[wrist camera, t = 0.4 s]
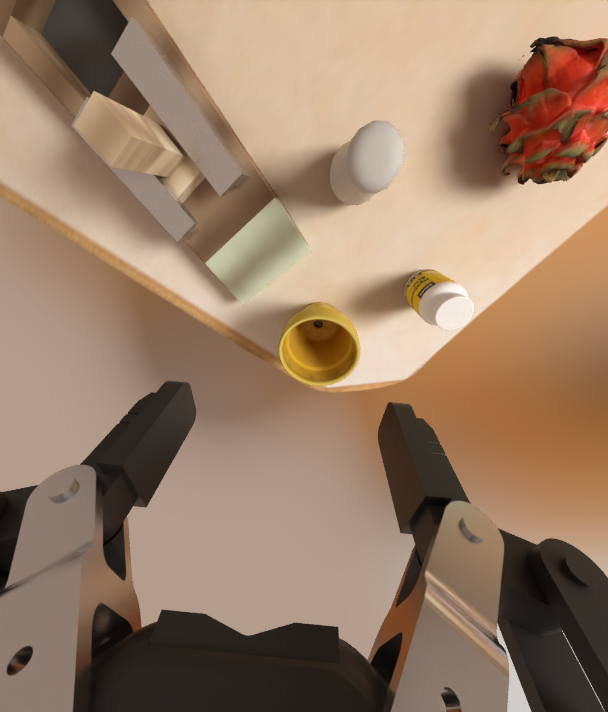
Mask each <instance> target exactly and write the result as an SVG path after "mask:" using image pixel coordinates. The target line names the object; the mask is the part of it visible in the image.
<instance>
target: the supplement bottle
mask: <svg viewBox="0 0 608 712" xmlns="http://www.w3.org/2000/svg"><path fill="white" fill-rule="evenodd" d="M404 295H405V298H406V300H407V302H408V303H409V304H410V305H411V306H412V307H413V309H414V310H415V311H416V312H417V313H418V314H419V315H420V317H421V318H422V319H423V320H424V321H425V322H427V323H429V324H432V325H437V326H438V327H440V328H442V329H445V330H453V329H457V328H459V327H461V326H463V325H464V324H466V323H467V322H468V321H469V319H470V318H471V316H472V314H473V311H474V306H473V303H472V302H471V300H470V299H468V295H467V292H466V290H465V289H464V288H463V287H462V286H461V285H460V284H458V283H456V282H454V281H453V280H451V279H449V278H447V277H446V276H444V275H443V274H441V273H439V272H437V271H435V270H431V269H426V270H421V271H419V272H417V273H415V274H414V275H413V276H411V278H410V279H409V280H408V281H407V283H406V286H405V289H404Z"/></svg>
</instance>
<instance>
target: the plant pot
mask: <svg viewBox="0 0 608 712" xmlns="http://www.w3.org/2000/svg"><path fill="white" fill-rule="evenodd" d="M315 321H321V322H322V326H321V327H316V326H315V324H314V322H315ZM279 357H280V361H281V363H282V365H283V367H284V368H285V370H286V371H287V372H288V373H289V374H290V375H291V376H292V377H294V378H295V379H297V380H298V381H301V382H303V383H306V384H309V385H316V386H324V385H330V384H334V383H337V382H339V381H341V380H343V379H345V378H346V377H347V376H348V375H350V374H351V373H352V371H353V370H354V369H355V367H356V366H357V364H358V361H359V357H360V344H359V339H358V336H357V333H356V330H355V328H354V326H353V324H352V323H351V321H350V320H349V319H348V318H347V317H346V316H345V315H343V314H342V313H340V312H338V311H337V310H336V309H335V308H334V307H333V306H331V305H329V304H326V303H313V304H311V305H309V306H307V307H306V308H305V309H304V310H302V311H300V312H298V313H297V314H295V315H294V316H293V317H292V318H291V319H290V320H289V321H288V323H287V324H286V326H285V328H284V330H283V332H282V335H281V338H280V342H279Z"/></svg>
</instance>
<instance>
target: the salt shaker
mask: <svg viewBox="0 0 608 712" xmlns="http://www.w3.org/2000/svg"><path fill="white" fill-rule="evenodd" d="M403 160H404V142H403V140H402V137H401V134H400V132H399V130H398V129H397V128H396V127H395V126H393V125H392V124H391V123H389V122H388V121H372V122H371V123H369V124H367V125H365V126H364V127H362V128H360V129H359V130H358V132H357V133H356V134H355V135H354V137H353V138H352V139H351V141H349V142H347V143H346V144H344V145H342V147H341V148H340V149H339V150H338V152H337V153H336V154H335V156H334V157H333V160H332V164H331V168H330V172H329V173H330V186H331V188H332V190H333V192H334V194H335V195H336V197H337V198H338V199H339V200H340V201H342V202H343V203H345V204H346V205H359V204H362V203H364V202H366V201H368V200H370V198H371V197H372V196H373V195H374V194H375V193H378V192H380V191H382V190H384V189H386V188H387V187H388V186H389V185H390V184H391V183H392V181H393V180H394V179H395V178H396V177H397V175H398V173H399V170H400V168H401V165H402V163H403Z"/></svg>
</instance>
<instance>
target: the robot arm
mask: <svg viewBox="0 0 608 712" xmlns="http://www.w3.org/2000/svg"><path fill="white" fill-rule="evenodd" d="M195 417H196V408H195V404H194V400H193V395H192V391H191V387H190V384H189V383H187V382H177V381H167V382H165V383H164V384H163V385H162V386H161V388H160V389H159V390H158V391H157V392H156V393H150V394H149V395H147V396H145V397H144V398H142V399H141V400H139V401H138V402H137V403H136V404H135V405H134V406H133V407H132V408H131V410H130V411H129V412H128V414H126V415H125V416H124V417H123V418H122V419H121V421H120V423H119V424H117V425H116V426H115V427H114V428H113V429H112V430H111V432H110V433H109V434H108V435H107V436H106V437H105V438H104V439H103V440H102V441H101V443H100V444H99V445H98V446H97V447H96V448H95V449H94V450H93V451H92V453H91V454H90V455H89V456H88V457H87V458H86V459H85V460H84V461H83V462H82V463H81V464H80V465H75V466H71V467H68V468H65V469H63V470H60V471H58V472H56V473H54V474H53V475H51V476H50V477H48V478H47V479H45V480H44V481H43V482H42V483H41V484H39V485H37V486H31V487H26V488H21V489H16V490H11V491H6V492H0V712H507V702H508V686H509V663H508V658H507V654H506V651H505V649H504V648H503V647H502V645H500V644H499V642H498V639H497V632H496V630H497V623H498V625H499V628H500V631H501V633H502V636H503V638H504V641H505V643H506V646H507V649H508V651H509V653H510V657H511V659H512V662H513V664H514V667H515V669H516V672H517V675H518V677H519V680H520V683H521V685H522V688H523V690H524V693H525V696H526V698H527V701H528V703H529V706H530V709H531V711H532V712H604V710H605V712H608V578H607V576H606V575H605V574H604V573H603V571H602V570H601V569H600V568H599V567H598V566H597V565H596V564H595V563H594V562H593V561H592V560H591V559H590V558H589V557H588V556H586V555H585V554H584V553H582V552H581V551H580V550H578V549H577V548H575V547H574V546H572V545H570V544H568V543H566V542H564V541H561V540H558V539H551V538H550V539H546V540H544V541H542V542H541V543H540V544H538V545H536V544H534V543H531V542H529V541H527V540H524V539H522V538H519V537H517V536H515V535H512V534H509V533H507V532H505V531H503V530H501V529H499V528H497V527H496V525H495V524H494V523H493V521H492V520H491V519H490V518H489V517H488V516H487V515H486V514H485V513H484V512H483V511H481V510H480V509H479V508H477V507H476V506H474V505H472V504H471V503H470V502H469V500H468V498H467V496H466V494H465V492H464V490H463V488H462V487H461V484H460V482H459V480H458V478H457V476H456V474H455V472H454V470H453V468H452V466H451V464H450V462H449V460H448V458H447V456H445V452H444V450H443V448H442V446H441V445H440V442H439V440H438V438H437V436H436V434H435V432H434V430H433V429H432V428H431V427H430V426H429V425H428V424H427V423H426V422H425V421H424V420H423V419H420V418H416V416H415V414H414V411H413V409H412V407H411V406H410V405H409V404H403V403H393V402H389V403H388V405H387V407H386V410H385V413H384V415H383V418H382V421H381V423H380V426H379V430H378V442H379V447H380V451H381V455H382V459H383V463H384V467H385V471H386V476H387V479H388V484H389V488H390V492H391V496H392V500H393V504H394V508H395V512H396V516H397V520H398V524H399V528H400V533H406V534H413V538H414V542H415V546H414V548H413V550H412V553H411V556H410V558H409V561H408V564H407V566H406V569H405V572H404V574H403V577H402V579H401V582H400V585H399V587H398V591H397V593H396V595H395V598H394V601H393V603H392V606H391V608H390V610H389V612H388V614H387V616H386V618H385V619H384V621H383V623H382V625H381V628H380V630H379V632H378V634H377V637H376V639H375V642H374V645H373V647H372V650H371V652H370V655H369V657H368V660H366V658H365V657H364V656H362V655H361V654H360V653H359V652H358V651H357V650H356V649H355V648H354V647H352V646H351V645H350V644H348V643H347V642H345V641H344V640H342V639H340V638H339V635H338V634H339V633H338V627H333V626H322V625H313V624H302V623H293V624H289V625H285V626H282V627H278V628H275V629H272V630H268V631H265V632H261V633H258V634H255V635H250V636H246V635H243V634H241V633H239V632H237V631H235V630H233V629H232V628H230V627H228V626H226V625H224V624H223V623H220V622H218V621H217V620H215V619H213V618H212V617H210V616H208V615H206V614H201V613H200V614H199V613H189V612H180V611H170V610H162V611H161V613H160V616H159V619H158V621H157V622H154V623H152V624H149V625H147V626H145V627H141V615H140V608H139V603H138V598H137V595H136V593H135V590H134V587H133V581H132V571H131V557H130V542H129V528H128V519H127V515H128V513H129V512H130V510H131V508H132V507H133V506H139V507H147V505H148V504H149V502H150V500H151V498H152V496H153V495H154V493H155V491H156V489H157V488H158V486H159V484H160V482H161V480H162V479H163V477H164V475H165V473H166V472H167V470H168V468H169V466H170V465H171V463H172V461H173V459H174V458H175V456H176V454H177V452H178V451H179V449H180V447H181V445H182V443H183V442H184V440H185V438H186V436H187V435H188V433H189V431H190V429H191V428H192V426H193V424H194V421H195ZM562 631H563V632H564V634H565V636H566V638H567V640H568V641H569V643H570V645H571V647H572V649H573V651H574V653H575V655H576V656H577V658H578V660H579V662H580V664H581V666H582V668H583V670H584V671H585V673H586V675H587V677H588V679H589V681H590V683H591V685H592V687H593V689H594V691H595V692H596V694H597V696H598V698H599V700H600V702H601V704H602V706H603V708H604V710H603V708H602V706H601V704H600V702H599V701H598V699H597V697H596V695H595V693H594V691H593V689H592V687H591V686H590V683H589V681H588V680H587V678H586V676H585V674H584V672H583V670H582V668H581V666H580V664H579V662H578V661H577V659H576V657H575V655H574V653H573V651H572V649H571V647H570V645H569V643H568V642H567V640H566V638H565V636H564V634H563V632H562ZM445 710H446V711H445Z"/></svg>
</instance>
